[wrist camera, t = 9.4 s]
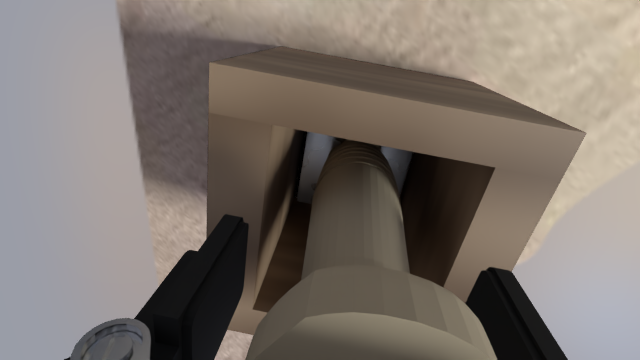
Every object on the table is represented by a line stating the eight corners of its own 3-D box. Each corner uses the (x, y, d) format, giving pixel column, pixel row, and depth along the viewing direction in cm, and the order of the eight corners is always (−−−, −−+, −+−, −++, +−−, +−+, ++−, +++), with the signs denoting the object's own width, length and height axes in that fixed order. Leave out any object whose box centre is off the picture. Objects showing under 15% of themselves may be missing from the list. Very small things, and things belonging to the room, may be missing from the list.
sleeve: (281, 46, 18) (208, 62, 9) (473, 82, 18) (586, 133, 9) (264, 210, 23) (205, 324, 14) (416, 240, 23) (454, 376, 14)
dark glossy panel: (316, 85, 19) (314, 88, 18) (422, 105, 19) (426, 109, 18) (299, 194, 22) (296, 201, 22) (390, 212, 22) (391, 219, 21)
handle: (305, 191, 21) (214, 479, 8) (332, 95, 18) (263, 279, 5) (376, 211, 21) (411, 531, 8) (413, 118, 18) (569, 363, 5)
